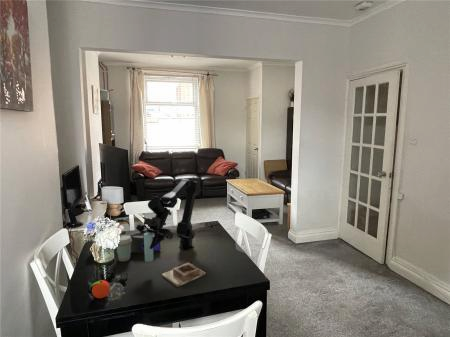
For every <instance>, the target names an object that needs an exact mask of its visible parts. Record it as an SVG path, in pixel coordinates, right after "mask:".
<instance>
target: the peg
mask: <svg viewBox="0 0 450 337" xmlns="http://www.w3.org/2000/svg"><path fill="white" fill-rule="evenodd" d="M153 235H154V233H150V232H149V233H145V234H144V251H145V254H144V261H145V262H146V263H149V262H153V261H154V252H153V248H152V249H150V246H151V243H152V241H153Z"/></svg>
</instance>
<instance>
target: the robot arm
mask: <svg viewBox="0 0 450 337" xmlns="http://www.w3.org/2000/svg"><path fill="white" fill-rule="evenodd" d="M200 190H201V183H200V182H199V181H194V180H190V179H187V178H185V179H184V178H182V179H181V180H180V182H179V183H178V184H177V185H176V186H175V187H174V188H173V189H172V191H169V192H168V193H166V194H164V195H162V197H161V198H160V197H159V196H155V197H154V198H152V199H150V200H149V201H148V203H147V206H148V208H149V209H150V211H152V212H153V214H155V215H154V216H152V217H151V218H149V217H144V221H143V224H141V223H138V224H137V225H136V227H135V229H136V230H137V231H138V233H140V234H142V236H143V245H142V247H143V248H144V234H145V233H149V232H150V233H152V234H153V235H154V239H153V241H152V243H151V246H150V249H152V248H153V247H154V246H156V245H157V244H158V243H159V242H160V243H161V242H162V241H164V240H165V239H167V240H173V237H174V233H173V232H172V231H171V230H170V229H169V228H164V226H166V225H167V223H166V221H167V219H168V218H169V216H171V215H172V212H171V209H174V208H175V206H176V205H177V203H178V199H179V198H180V197H181V195H182V194H183V193H184V192H185V194H186V196H185V197H186V198H185V203H184V208H183V214H182V218H181V220H180V221H179V222H177V225H176V226H177V227H176V229H175V230H176V235H177V238H179V239H180V240H179V246H178V247H179V248H180V249H182V250H184V251H187V250H190V249H193V248H195V246H194V245H193V240H194V238H196V236H195V235H196V233H195V231H194V230H193V224H192V222H191V220H192V216H193V209H194V205H195V199H196V196H197V195H198V194H199V192H200ZM168 208H169V209H168Z"/></svg>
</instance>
